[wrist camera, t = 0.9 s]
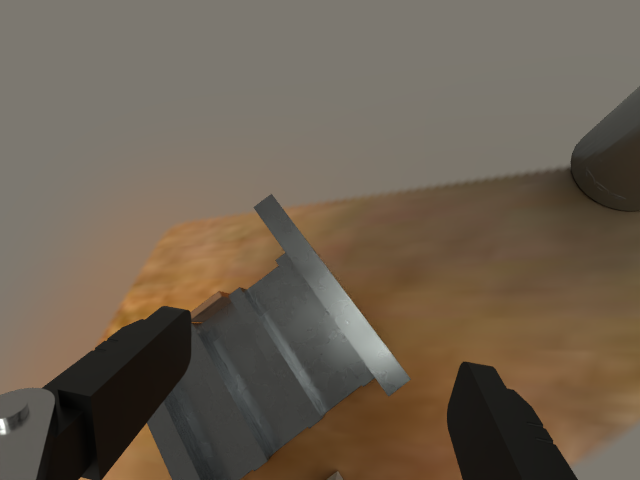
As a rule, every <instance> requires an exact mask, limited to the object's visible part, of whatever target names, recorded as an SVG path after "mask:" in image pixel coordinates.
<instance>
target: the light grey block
mask: <svg viewBox="0 0 640 480" xmlns="http://www.w3.org/2000/svg"><path fill="white" fill-rule="evenodd" d="M327 480H343V478H342V477H341V475H340V473H339V472H338V471H337V472H336V473H334V474H333V475H332V476H331V477H329V478H328V479H327Z"/></svg>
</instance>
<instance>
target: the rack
mask: <svg viewBox="0 0 640 480" xmlns="http://www.w3.org/2000/svg"><path fill="white" fill-rule="evenodd" d="M254 209H255V210H256V212H257V213H258V214H259V216H260V217H261V219H262V220H263V221H264V223H265V224H266V226H267V227H268V228H269V230H270V231H271V233H272V234H273V235H274V237H275V238H276V240H277V241H278V242H279V244H280V245H281V247H282V248H283V249H284V251H285V252H286V253H285V254H283V255H282V256H281V257H279V258H278V259H277V260H275V261H276V262H277V263H278V265H279V266H278V267H277V268H275V269H274V270H273V271H271V272H270V273H269V274H267V275H266V276H265V277H263V278H262V279H261V280H259V281H258V282H257V283H255V284H254V285H253V286H251V287H250V288H249V289H247V290H246V289H243V288H240V287H239V288H238V289H237V290H235V291H234V292H233V293H231V294H228V293H224V292H220V291H218V292H217V293H216V294H214V295H213V296H212V297H210V298H209V299H208V300H206V301H205V302H204V303H202V304H201V305H200V306H198V307H197V308H196V309H194V310H193V311H192V312H190V313H191V319H192V321H191V322H203V323H202V324H201V323H191V360H190V364H189V366H188V369H187V371H186V373H185V374H184V376H183V377H182V378H181V380H180V381H179V382H178V383H177V385H176V386H175V387H174V389H173V390H172V391H171V392H170V394H169V395H168V396H167V397H166V399H165V400H164V401H163V403H162V404H161V405H160V406H159V408H158V409H157V410H156V411H155V413H154V414H153V415H152V417H151V418H150V419H149V420H148V422H147V424H148V426H149V429H150V431H151V433H152V435H153V438H154V440H155V442H156V444H157V447H158V449H159V451H160V453H161V455H162V458H163V460H164V462H165V464H166V467H167V469H168V471H169V473H170V476H171V478H172V480H240V479H241V478H242V477H243V476H245V475H246V474H247V473H249V472H250V471H251V470H252V469H253V470H254V471H255V470H257V469H258V468H259V467H260V466H262V465H263V464H264V463H266V462H267V461H268V460H269V459H270V457H271V456H272V455H273V454H274V452H276V451H277V450H278V449H280V448H281V447H282V446H283V445H285V444H286V443H287V442H289V441H290V440H291V439H293V438H294V437H295V436H296V435H298V434H299V433H300V432H302V431H303V430H304V429H305V428H307V427H308V428H311V427H312V426H313V425H315V424H316V423H317V422H319V421H320V420H321V419H322V418H323V416H324V415H325V413H326V412H327V411H329V410H330V409H331V408H333V407H334V406H335V405H336V404H338V403H339V402H340V401H342V400H343V399H344V398H345V397H347V396H348V395H349V394H351V393H352V392H353V391H355V390H356V389H357V388H358V387H360V386H361V385H362V386H363V387H364V386H365V385H366V384H368V383H369V382H370V381H371V380H373V379H374V378H376V380H377V381H378V382H379V384H380V385H381V387H382V388H383V389H384V391H385V392H386V394H387V395H388V396H390V395H391V394H393V393H394V392H395V391H396V390H398V389H399V388H400V387H402V386H403V385H404V384H405V383H407V382H408V381H409V380H411V379H410V378H409V376H408V375H407V374H406V372H405V371H404V370H403V368H402V367H401V366H400V364H399V363H398V362H397V360H396V359H395V358H394V356H393V355H392V354H391V352H390V351H389V350H388V348H387V347H386V346H385V344H384V343H383V342H382V340H381V339H380V338H379V336H378V335H377V334H376V332H375V331H374V330H373V328H372V327H371V326H370V324H369V323H368V322H367V320H366V319H365V318H364V316H363V315H362V314H361V312H360V311H359V310H358V308H357V307H356V306H355V304H354V303H353V302H352V300H351V299H350V298H349V296H348V295H347V294H346V292H345V291H344V290H343V288H342V287H341V286H340V284H339V283H338V282H337V280H336V279H335V278H334V276H333V275H332V274H331V272H330V271H329V270H328V268H327V267H326V266H325V264H324V263H323V262H322V260H321V259H320V258H319V256H318V255H317V254H316V252H315V251H314V250H313V248H312V247H311V246H310V244H309V243H308V242H307V240H306V239H305V238H304V236H303V235H302V234H301V232H300V231H299V230H298V228H297V227H296V226H295V224H294V223H293V222H292V220H291V219H290V218H289V216H288V215H287V214H286V213H285V211H284V210H283V209H282V207H281V206H280V205H279V203H278V202H277V201H276V199H275V198H274V197H273V195H272V194H271V195H269V196H268V197H267V198H265V199H264V200H263V201H261V202H260V203H259V204H257V205H256V206H255V207H254Z"/></svg>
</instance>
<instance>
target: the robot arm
mask: <svg viewBox="0 0 640 480" xmlns="http://www.w3.org/2000/svg"><path fill="white" fill-rule="evenodd" d="M571 171H572V174H573V176H574V179H575V181H576V182H577V184H578V185H579V187H580V188H581V189H582V190H583V191H584V192H585V193H586V194H587V195H588V196H589V197H591V198H592V199H593V200H595V201H596V202H598V203H600V204H603V205H605V206H607V207H610V208H614V209H617V210H625V211H640V86H639V87H638V88H637V89H636V90H635V91H634V92H633V93H632V94H630V96H628V97H627V98H626V99H625V100H624V101H623V102H622V103H621V104H620V105H618V106H617V107H616V108H615V109H614V110H613V111H612V112H611V113H610V114H609V115H607V116H606V117H605V118H604V119H603V120H602V121H601V122H600V123H599V124H597V126H595V127H594V128H593V129H592V130H591V131H590V132H589V133H588V134H587V135H586V136H584V137H583V138H582V139H581V141H580V142H579V143H578V144H577V145H576V146H575V149H574V151H573V153H572V158H571ZM191 321H192V319H191V313H190V311H189V310H184V309H179V308H173V307H168V306H163V307H161V308H159V309H158V310H157V311H156V312H154V313H153V314H152V315H150V316H149V317H148V318H147V319H145V320H143V319H141V320H139V321H136V322H134V323H132V324H129V325H127V326H125V327H122V328H121V329H120V330H118V331H117V332H116V333H114V334H113V335H112V336H110V337H109V338H108V340H107V341H104V342H102V343H101V344H100V345H99V346H97V347H96V348H95V350H94V351H91V352H89V353H88V354H87V355H85V356H84V357H83V358H81V359H80V360H79V361H77V362H76V363H75V364H73V365H72V366H71V367H69V368H68V369H67V370H65V371H64V372H63V373H61V374H60V375H59V376H57V377H56V378H55V379H53V380H52V381H51V382H49V383H48V384H47V385H45V386H44V387H43V388H26V389H19V390H15V391H11V392H8V393H5V394H2V395H0V480H78V479H79V478H80V477H83V478H87V479H91V480H102V479H103V477H104V476H105V475H106V474H107V472H108V471H109V470H110V469H111V467H112V466H113V465H114V463H115V462H116V461H117V460H118V458H119V457H120V456H121V455H122V453H123V452H124V451H125V450H126V448H127V447H128V446H129V444H130V443H131V442H132V441H133V439H134V438H135V437H136V436H137V434H138V433H139V432H140V430H141V429H142V428H143V427H144V425H145V424H146V423H147V422H148V420H149V419H150V418H151V417H152V415H153V414H154V413H155V411H156V410H157V409H158V408H159V406H160V405H161V404H162V403H163V401H164V400H165V399H166V397H167V396H168V395H169V394H170V392H171V391H172V390H173V389H174V387H175V386H176V385H177V383H178V382H179V381H180V380H181V378H182V377H183V376H184V374H185V373H186V371H187V369H188V366H189V364H190V360H191ZM447 424H448V430H449V434H450V437H451V441H452V444H453V448H454V451H455V454H456V458H457V461H458V465H459V468H460V472H461V475H462V478H463V480H578V479H577V478H576V476H575V475H574V473H573V471H572V470H571V468H570V467H569V465H568V463H567V462H566V460H565V459H564V457H563V456H562V454H561V452H560V451H559V449H558V448H557V446H556V445H554V444H553V440H552V438H551V437H550V435H549V433H548V432H547V430H546V429H544V428H543V424H542V422H541V421H540V419H539V418H538V416H537V415H536V413H535V411H534V410H533V408H532V407H531V406H530V405H529V404H528V403H527V402H526V401H525V400H524V399H523V398H522V397H521V396H520V395H519V394H517V393H516V392H515V391H514V390H511V389H507V388H506V386H505V385H504V383H503V381H502V380H501V378H500V376H499V374H498V373H497V371H496V369H495V368H494V367H492V366H486V365H481V364H475V363H470V362H463V363H462V364H461V365H460V367H459V371H458V374H457V377H456V381H455V384H454V387H453V391H452V394H451V398H450V401H449V404H448V410H447Z"/></svg>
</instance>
